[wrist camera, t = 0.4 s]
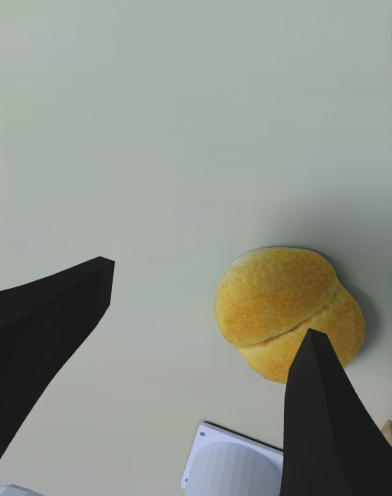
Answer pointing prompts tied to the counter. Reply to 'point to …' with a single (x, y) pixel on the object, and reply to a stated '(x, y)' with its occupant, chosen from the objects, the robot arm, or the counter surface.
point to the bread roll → (285, 308)
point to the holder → (387, 431)
